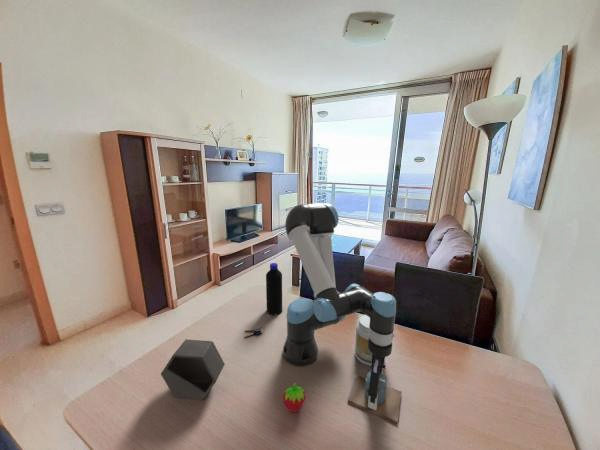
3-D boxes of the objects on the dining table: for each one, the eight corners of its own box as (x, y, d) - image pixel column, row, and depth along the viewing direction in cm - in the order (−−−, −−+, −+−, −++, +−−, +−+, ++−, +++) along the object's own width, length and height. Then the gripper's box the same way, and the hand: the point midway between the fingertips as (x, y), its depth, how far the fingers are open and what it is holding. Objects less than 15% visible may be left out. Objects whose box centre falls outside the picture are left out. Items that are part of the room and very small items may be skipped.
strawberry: (282, 402, 83) (282, 377, 81) (303, 400, 84) (304, 376, 81) (283, 419, 77) (283, 393, 75) (306, 417, 78) (306, 391, 76)
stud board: (347, 402, 83) (348, 388, 82) (356, 376, 94) (357, 364, 92) (397, 424, 76) (399, 410, 75) (401, 394, 86) (402, 381, 85)
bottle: (279, 316, 132) (279, 268, 126) (264, 314, 134) (263, 266, 128) (284, 307, 141) (283, 262, 135) (269, 305, 142) (268, 260, 136)
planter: (153, 384, 84) (180, 343, 79) (167, 367, 91) (192, 328, 86) (195, 410, 84) (224, 370, 80) (205, 390, 92) (232, 353, 87)
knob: (363, 399, 83) (364, 381, 82) (367, 384, 89) (369, 367, 87) (383, 407, 80) (385, 389, 79) (386, 392, 86) (388, 374, 84)
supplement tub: (388, 366, 98) (392, 330, 95) (359, 368, 98) (362, 331, 94) (377, 345, 110) (380, 312, 107) (351, 346, 109) (353, 313, 106)
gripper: (387, 367, 68) (381, 430, 73) (396, 323, 88) (390, 375, 93) (360, 357, 72) (356, 418, 76) (374, 318, 91) (370, 368, 96)
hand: (375, 395), depth 84 cm, fingers closed on stud board, 10 cm apart
